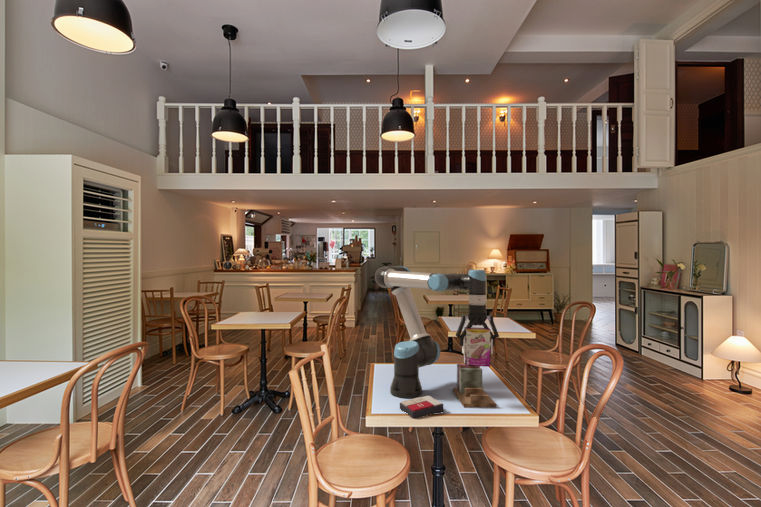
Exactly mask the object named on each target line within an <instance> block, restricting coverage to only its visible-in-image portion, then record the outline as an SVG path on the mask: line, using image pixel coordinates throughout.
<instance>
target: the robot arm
mask: <svg viewBox="0 0 761 507" xmlns="http://www.w3.org/2000/svg"><path fill="white" fill-rule="evenodd" d="M374 273H375V274H374V281H375V283H376V285H377V286H378V287H380V288H383V289H389V290H390V291H391V294H392V295H394V296H395V297H396V298H395V299H396V300H397V305H398V307H399V310H400V312H401V315H402V318H403V321H404V325H405V327H406V329H407V332H408V336H409V340H406V341H400V342H398V343H396V344H395V345H394V352H393V356H394V357H393V360H394V361H393V365H394V366H393V367H394V368H393V374H394V375H393V378H392V381H391V384H390V387H389V388H390V389H389V392H390V394H391V395H392V396H393V397H396V398H402V399H414V398H418V397H422V395H423V387H422V383H421V381H420V378H419V374H420V373H419V369H420V368H422V367H426V366H430V365H433V364H435V363H437V362H438V360H439V358H440V356H441V348H440V345H439V344H438V342H437V341H436V340H433V339H432V337H431V334H430V333H428V332H427V331H426V329H425V326H424V323H423V321H422V318H421V314H420V313H419V310H418V306H417V303H416V301H415V298H414V296H413V295H414V294H412V289H421V290H432V291H434V292H445V291H468V303H469V304H468V315H461V316H460V317H461V320H460V322H459V325H458V328H457V331H456V333H455V337H457V338H459V345H460V347H461V353H462V354H463V355H464V354H465V339H464V337H465V334H466V331H465V329H464V327H466V328H467V329H470V328H471V327H474V326H482V328H485V329H490V328H491V355H494V354H493V351H494V347H495V346H496V344H495V342H496V341H495V340H496V339H497V338H500V335H499V331H498V329H497V327H496V325H495V322H494V316H493V315H490V314H489V315H487V305H486V304H487V292H486V291H487V274H486V271H485V270H484V269H469V270H468V272H467V273H456V272H455V273H453V272H452V273H433V272H432V273H431V272H420V271H419V272H417V271H411V270H410V268H408V267H406V266H403V265H396V266H392V265H389V266H388V265H384V266H381V267H379V268H378V269H377V270H376V272H374ZM467 320H468V323H467V325H466V326H465V323H466V322H467ZM486 320H487V321H489V325H490V327H489V326H488V325H487V323H486Z"/></svg>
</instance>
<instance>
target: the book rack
mask: <svg viewBox="0 0 761 507" xmlns="http://www.w3.org/2000/svg"><path fill="white" fill-rule="evenodd" d="M452 392H453V393H454V395H455V396H456V398H457V399H458V401H459V403H460V404H461V405H462V406H463V408H497V403H496V402H495V401H494V400H493V398H491V397H490V395H489V394H487V392H486V391H485V390H484V388H483V369H482V368H481V366H465V364H464V362H463V363H456V387H452Z"/></svg>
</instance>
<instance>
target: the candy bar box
mask: <svg viewBox="0 0 761 507" xmlns="http://www.w3.org/2000/svg"><path fill="white" fill-rule="evenodd" d="M464 329H465V331H466V334H465V337H464V339H465V354H463V363H464V364H465V366H480V367H486V368H487V367H488V368H489V367H491V357H492V356H491V355H492V354H491V332H492V329H490V328H489V329H485V328H484V327H476V326H472V327H471V328H470V329H467V328H466V326H464V327H463V330H464Z"/></svg>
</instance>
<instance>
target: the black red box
mask: <svg viewBox="0 0 761 507" xmlns="http://www.w3.org/2000/svg"><path fill="white" fill-rule="evenodd" d="M400 409H401V410H400ZM399 410H400V411H402V412H403V411H404V412H406V413H408V414H409V415H410V416H409V415H408V416H409V417H410V418H411V419H419V418H423V416H424V417H427V416H426V415H428V416H431V415H430V414H432V415H435V414H434V413H439V414H442V413H441V412H443V413H444V410H445V409H444V403H443V402H440V401H439V400H437V399H436V398H433V397H432V396H430V395H425V396H424V395H423V396H419V397H415V398H411V399H407V400H402V401H400V402H399ZM404 412H403V413H404ZM406 413H405V414H406Z"/></svg>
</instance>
